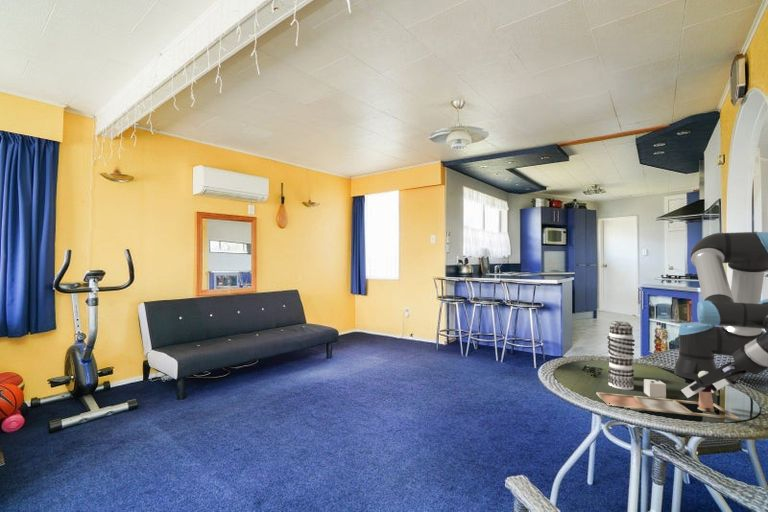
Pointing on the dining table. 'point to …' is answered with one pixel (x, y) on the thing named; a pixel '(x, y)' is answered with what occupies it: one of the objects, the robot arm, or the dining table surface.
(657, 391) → the ivory die
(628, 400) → the wooden flat rectangular frame
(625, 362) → the decorative candle
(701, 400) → the grandmother figurine
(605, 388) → the dining table surface
